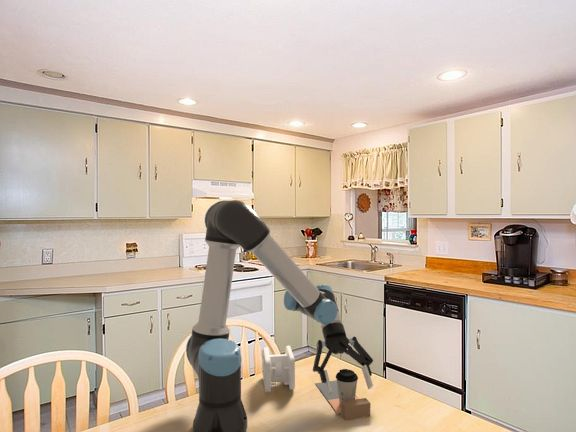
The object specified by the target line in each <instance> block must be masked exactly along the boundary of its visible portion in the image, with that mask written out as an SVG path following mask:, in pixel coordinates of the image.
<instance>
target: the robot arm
mask: <svg viewBox="0 0 576 432" xmlns="http://www.w3.org/2000/svg"><path fill="white" fill-rule="evenodd" d="M204 225H205V228H206V232H205V239H204V241H205V243H206V244H207V245H208V250H207V251H208V252H207V259H206V267H205V272H204V273H205V274H204V280H203V288H202V294H201V295H202V296H201V301H200V308H199V315H198V322H196V323H195V324H194V325H193V326H192V329H191V330H192V331H191V335H190V337H189V338H188V340H187V342H186V346H185V349H186V350H185V351H186V352H185V353H186V358H187V361H188V363H189V364H190V366H192V368H193V370H194V372H195V374H196V376H197V377H198V405H197V409H196V412H195V415H194V419H193V422H192V432H246V431H247V428H248V416H247V412H246V409H245V406H244V404H243V401H242V372H241V371H242V353H241V348H240V346H239V345H238V343H236V342H235V341H233V340H230V333H231V331H230V328H229V327H228V326H227V318H228V317H227V316H228V312H229V304H230V298H231V297H230V296H231V289H232V284H233V283H232V282H233V276H234V275H233V274H234V268H235V262H236V252H237V250H238V249H239V248H240V247H241V248H242V249H243V251H245V252H248V253H250V252H251V254H253V255H254V257H255V258H257V261H259V262H260V263H261V264H262V265H263V266H264V267H265V269H267V271H268V272H269V273H270V274H271V275H272V276H273V277H274V279H276V280H277V282H278V283H280V284H281V286H282V287H283V288H284V289H285V292H284V294H283V295H284V296H283V305H284V308H285V309H286V310H287V311H293V312H299V313H301V314H303V315H305V316H307V317H309V318H311V319H313V320H314V321H316V322H317V323H319V324H320V327H321V330H322V336H323V339H324V340H321V339H318V340H317V342H316V353H315V357H314V361H313V366H312V372H315V373H316V372H317V374H318V375H319V377H320V381H321V382H322V383H325V386H326V390H327V394H328V395H330V394H331V392H332V388H331V384H330V381H331V380H330V378H329V373H328V370H327V369H325V368H326V366H327V364H328V363H329V360H330V358H331V356H332V354H334V355H338V354H340V355H341V354H342V355H343V354H346V355H348V356H349V357H351V359H353V360H354V361H356V362H357V363H358V364H360V366H362V367H361V370H362V374H363V378H364V380H365V383H366V384H365V385H366V387H367V390H370V389H372V388H373V387H374V384H373V381H372V377H371V376H372V370H371V367H370V365H372V364H373V362H374V359H373V357H371V355H370V354H369V353H368V352H367V351H366V350H365V348H363V346H362V345H361V344H360V342H359V341H358V339H357V337H356V336H352V338H351V337H350V338H348V337H347V334H346V333H347V332H346V330H345V327H344V324H343V320H342V317H341V314H340V311H339V307H338V304H337V301H336V298H335V294H334V292H333V289H332V288H331V286H330V285H329V284H326V283H324V284H318V285H315V284H314V282H312V280H311V279H310V278H309V277H308V276H307V275H306V274H305V272H304V271H303V270H302V269H301V268H300V267H299V266H298V264H297V263H296V262H295V261H294V259H292V258H291V257H290V255H289V254H288V253H287V252H286V251H285V250H284V249H283V247H282V246H281V245H280V244H279V243H278V242H277V241H276V239H275V238H274V237H273V236H272V235H271V228H269V226H268V225H267V224H266V222H264V221H263V219H262V218H261V217H260V216H259V215H258V214H257V212H256V211H255V210H254V208H252V207H251V206H250V205H249V204H247V203H246V202H243V201H241V200H237V199H236V200H235V199H234V200H220V201H217V202H215V203H213V204H212V205H210V207H209V208H208V209H207V210H206V213H205V216H204ZM324 347H325V348H327V350H328V351H327V353H326V355H325V357H324V359H323V361H322V363H321V365H320V362H321V361H320V360H321V357H322V352H323V351H322V350H323V349H324ZM319 365H320V366H319ZM321 382H320V383H321Z"/></svg>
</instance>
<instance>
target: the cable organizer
mask: <svg viewBox="0 0 576 432" xmlns="http://www.w3.org/2000/svg"><path fill="white" fill-rule="evenodd" d="M261 356H262V358H261V359H262V378H263V387H264V392H265V393H271V392H272V386H275V388H276V387H277V384H276V383H280V382H281V383H283V386H284V387H285V385H286V386H287V385H288V389H289V390H290V391H294V390H295V388H296V361H295V356H294V353H293V351H292V348H291V345H285V351H284V353H283V354H270V350H269V347H268V346H265V347H263V348H262V349H261Z"/></svg>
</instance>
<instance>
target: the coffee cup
mask: <svg viewBox="0 0 576 432" xmlns="http://www.w3.org/2000/svg"><path fill="white" fill-rule="evenodd" d="M335 378H336V380H337V386H338V394H339V402H340V405H341V402H342V401H349V400H355V395H356V394H357V386H358V385H357V384H358V380H359V377H358V375H357V373H355V371H354V370H352V369H347V368H342V369H339V371H338V372H337V373H336V375H335ZM356 396H357V395H356Z"/></svg>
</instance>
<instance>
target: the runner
mask: <svg viewBox="0 0 576 432" xmlns="http://www.w3.org/2000/svg"><path fill="white" fill-rule="evenodd" d="M329 381H330V384H331V388H332V392H331V394H330V395H328V394H327V390H326V386H325V383H322V382H315V385H316V387H317V388H318V390H319V391H320V392H321V393H322V395H323V396H324V398H325V399H326V400H327V402H328V404H329V405H330V406H331V408H332V409H333V410H334V411H335V413H336V414H337V415H341V416H342V418H343V419H344V421H349V420H355V419H362V418H369V417H371V402H370V401H369V400H368V399H367V397H364V398H363V397H362V398H359V397H358V396H357V395H355V400H349V401H342V402H341V405H340V402H339V394H338V386H337V379H336V380H329Z"/></svg>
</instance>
